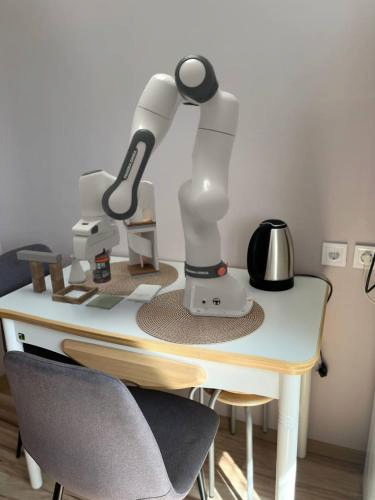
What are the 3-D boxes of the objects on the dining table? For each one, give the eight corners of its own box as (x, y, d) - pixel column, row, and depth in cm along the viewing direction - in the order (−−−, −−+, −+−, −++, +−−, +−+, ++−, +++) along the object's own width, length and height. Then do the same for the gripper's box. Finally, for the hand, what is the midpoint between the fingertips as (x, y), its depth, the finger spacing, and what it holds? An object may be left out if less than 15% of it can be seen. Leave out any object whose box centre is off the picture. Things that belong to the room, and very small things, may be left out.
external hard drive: (161, 289, 141) (149, 304, 129) (140, 288, 143) (126, 302, 132) (161, 285, 140) (149, 299, 129) (139, 284, 143) (125, 298, 131)
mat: (124, 298, 134) (124, 296, 133) (109, 309, 126) (109, 308, 125) (101, 295, 137) (101, 293, 137) (85, 305, 129) (85, 304, 129)
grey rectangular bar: (62, 260, 136) (61, 253, 136) (56, 263, 134) (55, 256, 133) (23, 256, 143) (22, 250, 142) (17, 259, 140) (16, 252, 139)
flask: (90, 277, 155) (87, 252, 152) (83, 284, 148) (80, 258, 145) (71, 277, 155) (68, 252, 152) (64, 284, 148) (61, 258, 146)
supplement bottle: (101, 276, 133) (98, 243, 130) (115, 279, 130) (112, 246, 127) (88, 282, 128) (85, 248, 125) (102, 285, 125) (99, 251, 122)
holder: (98, 292, 140) (95, 260, 136) (79, 304, 130) (75, 271, 126) (47, 285, 148) (42, 255, 144) (25, 296, 138) (20, 264, 135)
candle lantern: (127, 269, 161) (119, 182, 151) (152, 266, 164) (147, 180, 154) (131, 278, 151) (124, 186, 140) (159, 275, 154) (153, 184, 143)
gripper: (106, 216, 134) (110, 255, 138) (67, 230, 116) (72, 274, 120) (122, 217, 132) (125, 256, 136) (85, 231, 113) (90, 277, 117)
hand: (100, 265), depth 128 cm, fingers closed on supplement bottle, 6 cm apart
